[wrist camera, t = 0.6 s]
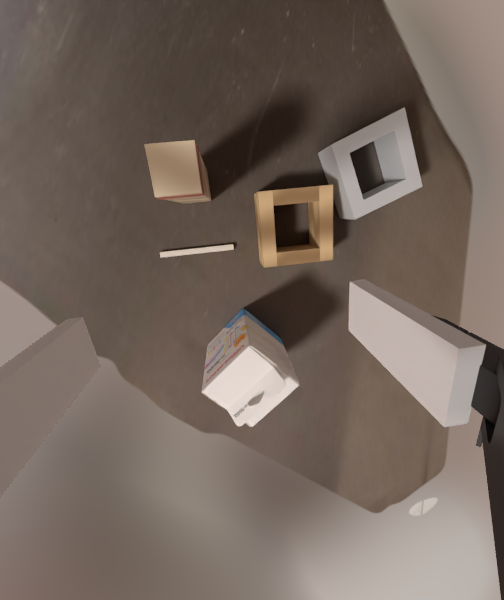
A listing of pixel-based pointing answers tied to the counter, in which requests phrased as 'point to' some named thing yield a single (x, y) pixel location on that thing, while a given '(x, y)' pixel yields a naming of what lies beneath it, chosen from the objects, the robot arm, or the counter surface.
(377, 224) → the counter surface
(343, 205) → the grey square frame
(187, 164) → the red-banded tall box
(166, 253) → the thin white stick
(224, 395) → the ink box
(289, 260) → the wooden square frame
